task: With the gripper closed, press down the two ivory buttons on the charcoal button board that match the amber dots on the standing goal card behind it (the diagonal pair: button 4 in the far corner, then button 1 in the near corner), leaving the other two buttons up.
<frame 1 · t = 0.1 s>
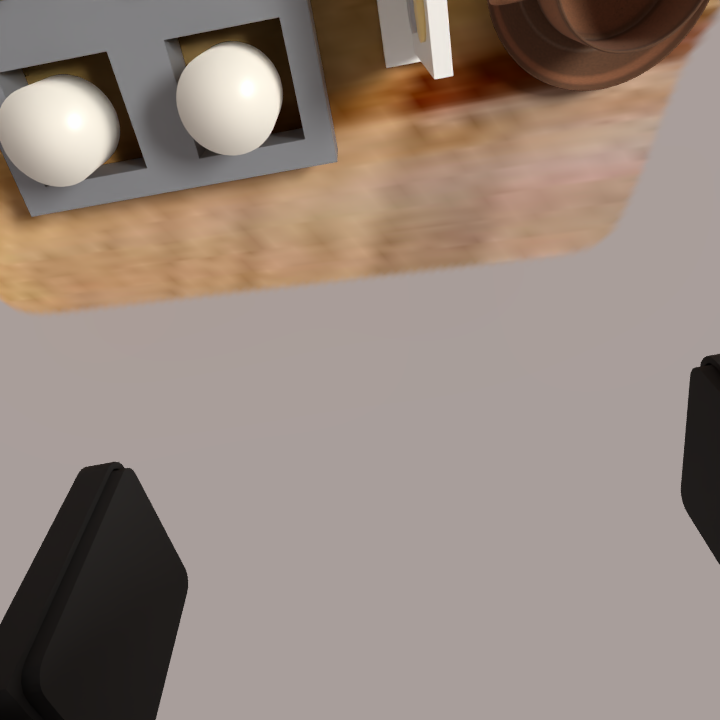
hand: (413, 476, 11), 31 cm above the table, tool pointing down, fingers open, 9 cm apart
button 3: (62, 130, 33), point 5 cm above the table, slide at 0.0 cm
button 4: (232, 97, 32), point 5 cm above the table, slide at 0.0 cm
button board: (140, 8, 34), on the table
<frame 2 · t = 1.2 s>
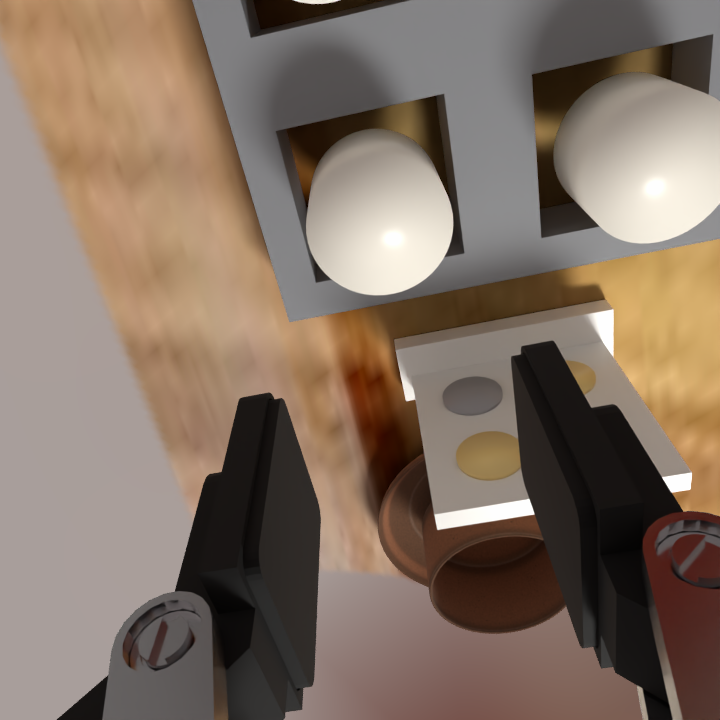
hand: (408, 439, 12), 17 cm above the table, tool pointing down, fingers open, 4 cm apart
goal card: (501, 346, 31), on the table
cup and saucer: (480, 495, 37), on the table
button 2: (639, 156, 21), point 5 cm above the table, slide at 0.0 cm
button 4: (377, 211, 22), point 5 cm above the table, slide at 0.0 cm
button board: (468, 27, 24), on the table
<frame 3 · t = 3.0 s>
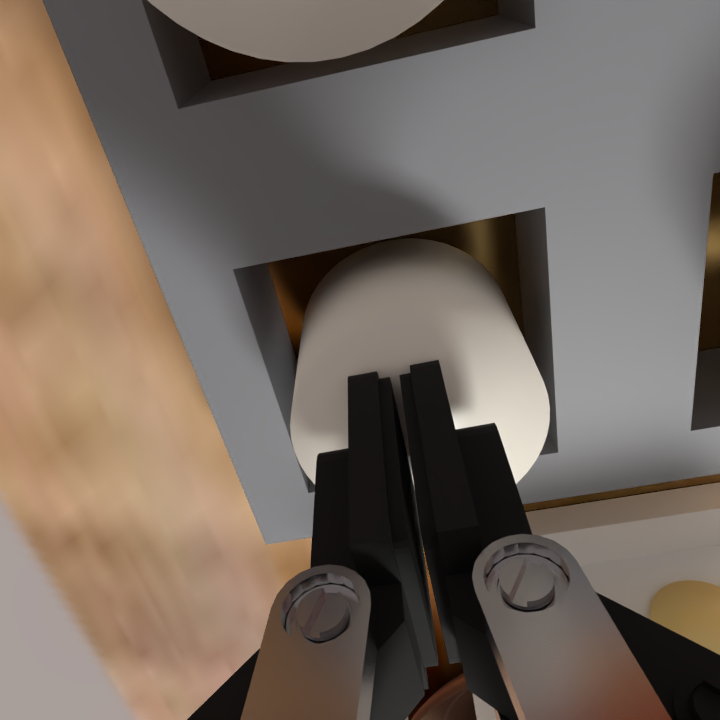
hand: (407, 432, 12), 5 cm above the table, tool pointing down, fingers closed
goal card: (587, 535, 21), on the table
cup and saucer: (542, 701, 26), on the table
button 4: (411, 378, 13), point 3 cm above the table, slide at 1.4 cm, touching gripper
button board: (576, 77, 13), on the table
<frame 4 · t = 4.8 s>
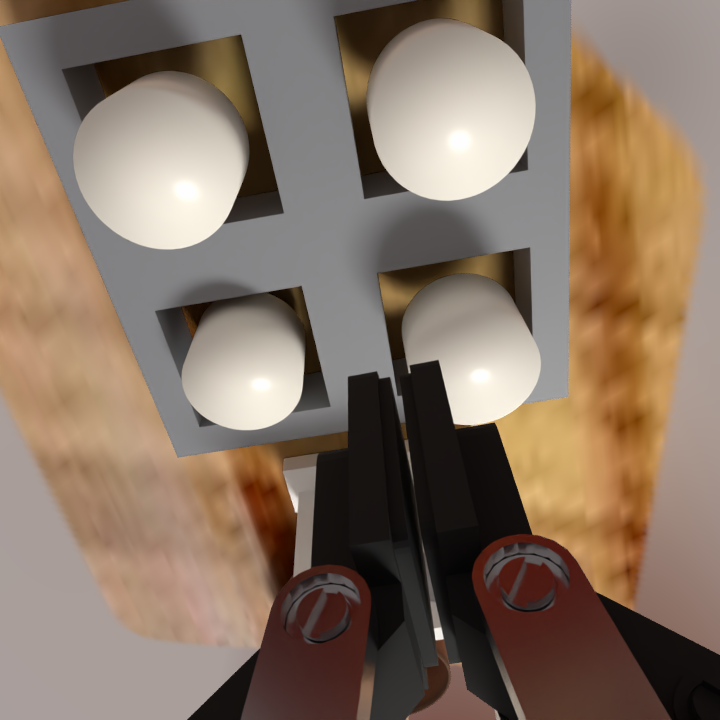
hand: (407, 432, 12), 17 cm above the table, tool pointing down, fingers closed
goal card: (381, 465, 34), on the table
button 3: (168, 159, 21), point 5 cm above the table, slide at 0.0 cm
cup and saucer: (376, 585, 40), on the table
button 2: (466, 348, 25), point 5 cm above the table, slide at 0.0 cm
button 4: (247, 359, 27), point 3 cm above the table, slide at 1.9 cm
button board: (332, 217, 27), on the table
button 1: (444, 108, 20), point 5 cm above the table, slide at 0.0 cm
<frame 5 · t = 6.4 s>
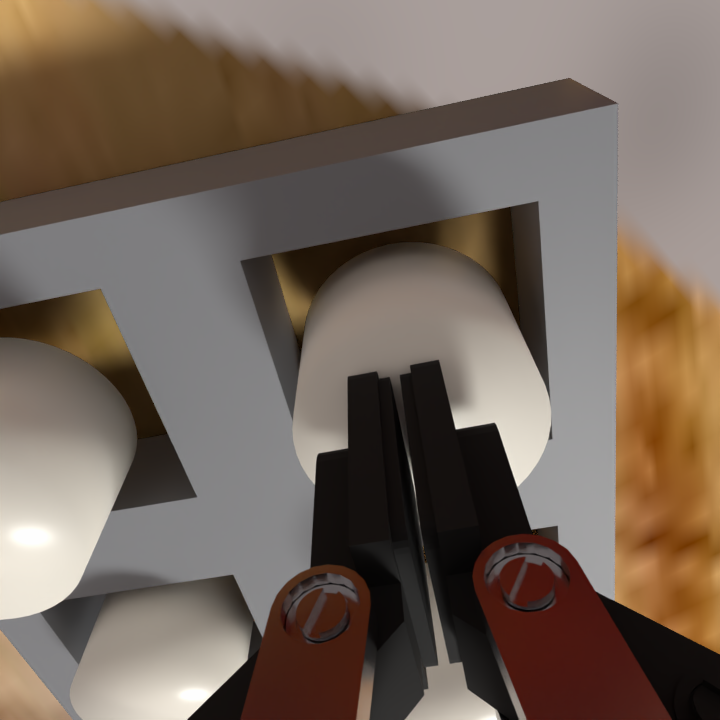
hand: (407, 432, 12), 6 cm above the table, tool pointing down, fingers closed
button 2: (468, 667, 17), point 5 cm above the table, slide at 0.0 cm
button 4: (170, 648, 20), point 3 cm above the table, slide at 1.9 cm
button board: (280, 455, 19), on the table
button 1: (413, 381, 13), point 4 cm above the table, slide at 0.8 cm, touching gripper
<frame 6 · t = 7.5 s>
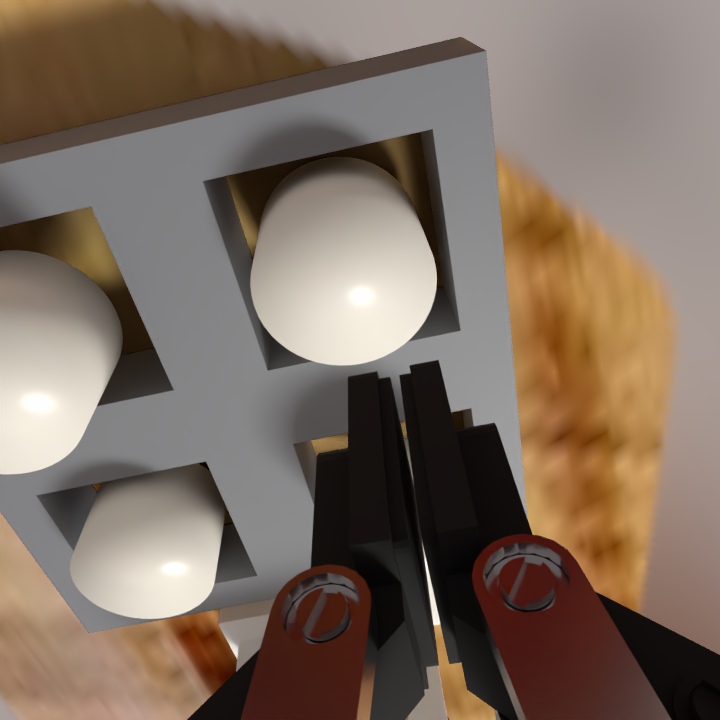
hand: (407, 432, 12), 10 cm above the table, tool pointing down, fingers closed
goal card: (331, 605, 31), on the table
button 3: (11, 360, 17), point 5 cm above the table, slide at 0.0 cm
button 2: (402, 528, 21), point 5 cm above the table, slide at 0.0 cm
button 4: (154, 535, 23), point 3 cm above the table, slide at 1.9 cm
button board: (244, 367, 23), on the table
button 1: (341, 259, 18), point 3 cm above the table, slide at 1.9 cm
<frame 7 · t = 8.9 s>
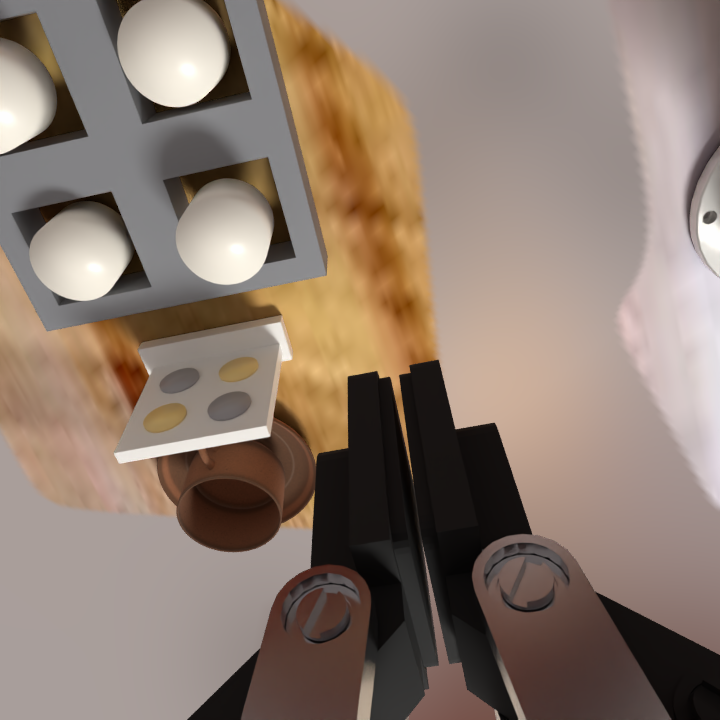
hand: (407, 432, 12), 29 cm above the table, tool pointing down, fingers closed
goal card: (217, 347, 44), on the table
cup and saucer: (241, 456, 50), on the table
button 2: (227, 231, 35), point 5 cm above the table, slide at 0.0 cm
button 4: (84, 250, 37), point 3 cm above the table, slide at 1.9 cm
button board: (141, 145, 37), on the table
button 1: (177, 49, 32), point 3 cm above the table, slide at 1.9 cm
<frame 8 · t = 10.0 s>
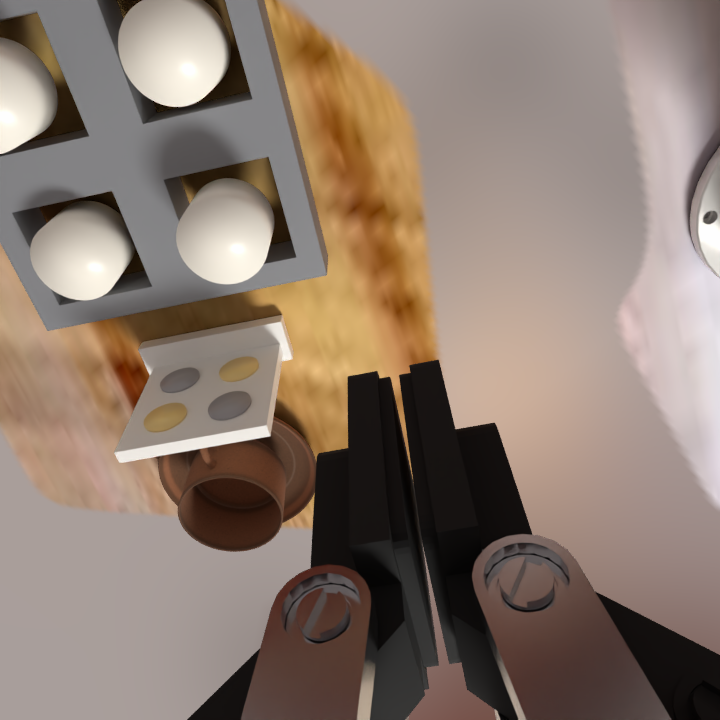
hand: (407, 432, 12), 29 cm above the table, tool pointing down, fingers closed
goal card: (218, 346, 44), on the table
cup and saucer: (242, 456, 50), on the table
button 2: (227, 230, 35), point 5 cm above the table, slide at 0.0 cm
button 4: (85, 250, 37), point 3 cm above the table, slide at 1.9 cm
button board: (141, 144, 37), on the table
button 1: (177, 49, 32), point 3 cm above the table, slide at 1.9 cm
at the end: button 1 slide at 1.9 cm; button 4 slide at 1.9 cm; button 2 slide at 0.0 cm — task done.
